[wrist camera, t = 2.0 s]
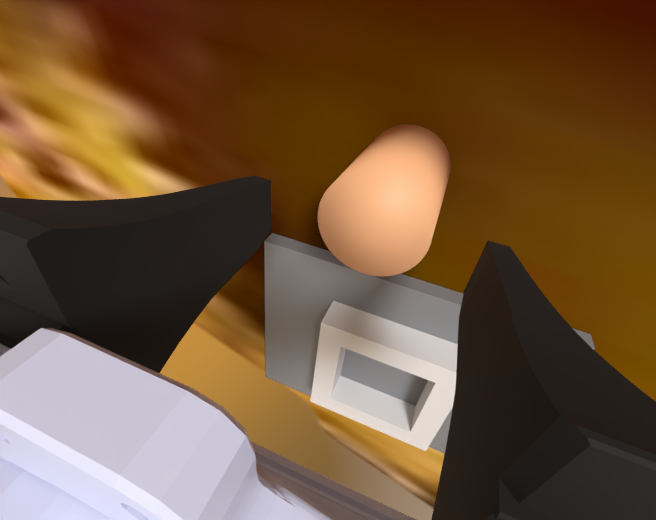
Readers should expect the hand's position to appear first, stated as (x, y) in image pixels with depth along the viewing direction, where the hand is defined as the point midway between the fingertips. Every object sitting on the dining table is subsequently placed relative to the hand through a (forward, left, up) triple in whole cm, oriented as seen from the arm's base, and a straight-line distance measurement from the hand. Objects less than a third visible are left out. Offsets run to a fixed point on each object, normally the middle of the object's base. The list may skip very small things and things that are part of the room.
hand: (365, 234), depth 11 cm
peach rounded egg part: (0, 0, -7) cm, 7 cm away
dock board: (-2, +13, -7) cm, 15 cm away
